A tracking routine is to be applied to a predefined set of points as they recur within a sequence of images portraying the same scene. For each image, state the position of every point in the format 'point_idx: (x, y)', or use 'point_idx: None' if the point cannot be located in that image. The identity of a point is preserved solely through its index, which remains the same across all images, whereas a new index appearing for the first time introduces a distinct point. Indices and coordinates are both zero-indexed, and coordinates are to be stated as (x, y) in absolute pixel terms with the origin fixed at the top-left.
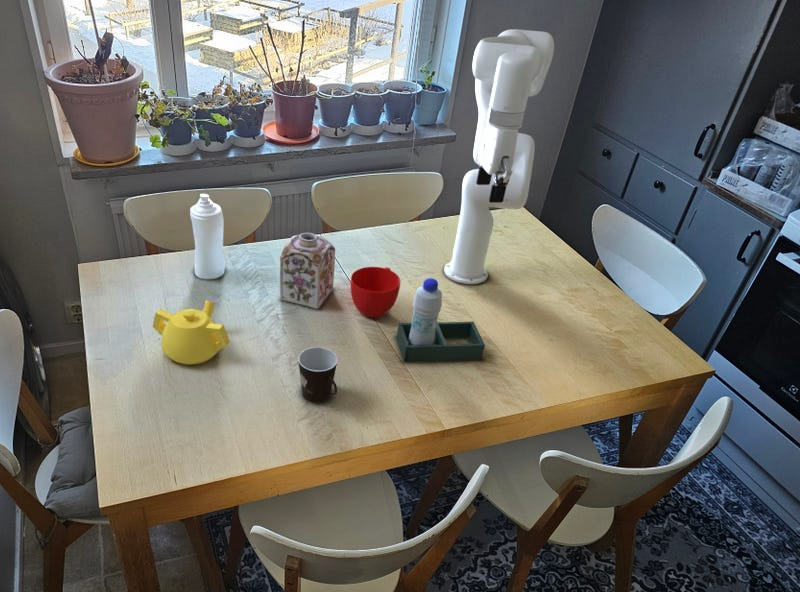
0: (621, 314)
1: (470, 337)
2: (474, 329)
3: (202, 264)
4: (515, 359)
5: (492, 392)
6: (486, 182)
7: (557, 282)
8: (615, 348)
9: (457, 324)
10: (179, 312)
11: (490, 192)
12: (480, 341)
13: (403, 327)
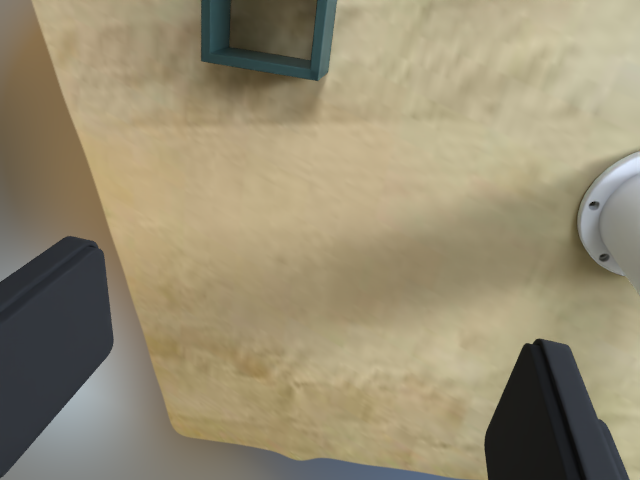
0: (343, 431)
1: (302, 60)
2: (277, 64)
3: None
4: (218, 143)
5: (99, 23)
6: (496, 431)
7: None
8: (238, 355)
9: (315, 21)
10: None
11: (16, 289)
12: (219, 55)
13: None
